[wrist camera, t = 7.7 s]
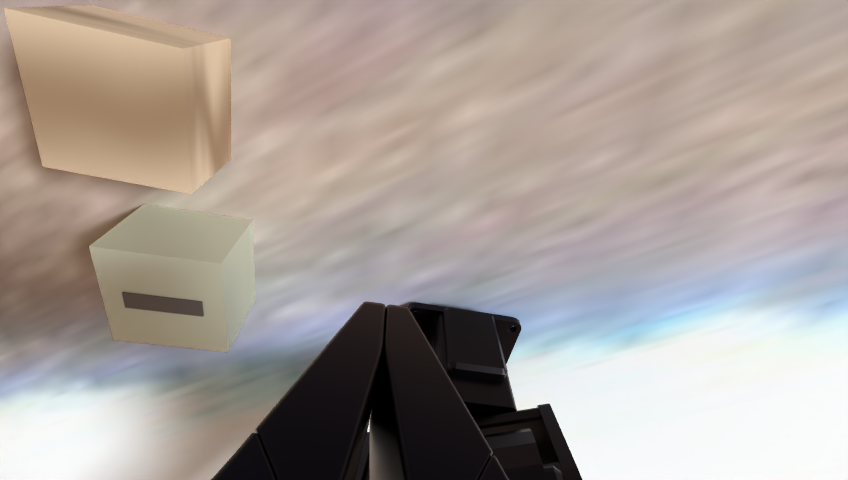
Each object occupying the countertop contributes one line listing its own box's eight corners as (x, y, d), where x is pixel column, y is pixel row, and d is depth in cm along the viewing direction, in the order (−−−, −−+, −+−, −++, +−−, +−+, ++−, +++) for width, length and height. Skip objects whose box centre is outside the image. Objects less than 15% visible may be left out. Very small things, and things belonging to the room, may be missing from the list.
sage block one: (255, 298, 23) (227, 353, 19) (159, 286, 22) (112, 341, 19) (253, 218, 20) (220, 264, 17) (145, 202, 20) (87, 247, 16)
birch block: (232, 157, 19) (191, 194, 15) (113, 134, 18) (42, 166, 15) (231, 37, 16) (183, 48, 13) (94, 5, 16) (3, 7, 12)
